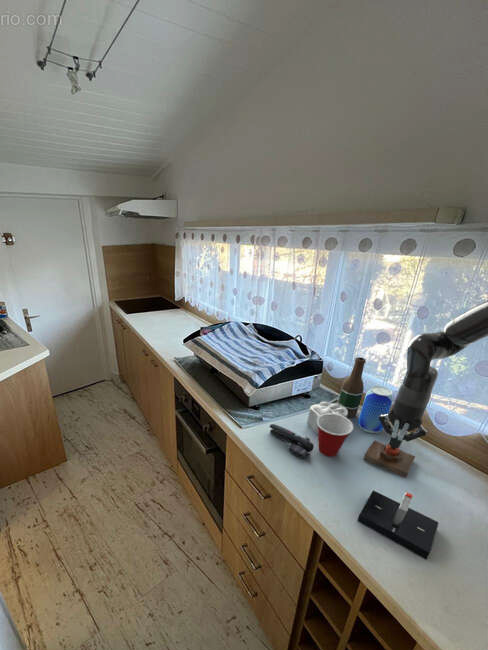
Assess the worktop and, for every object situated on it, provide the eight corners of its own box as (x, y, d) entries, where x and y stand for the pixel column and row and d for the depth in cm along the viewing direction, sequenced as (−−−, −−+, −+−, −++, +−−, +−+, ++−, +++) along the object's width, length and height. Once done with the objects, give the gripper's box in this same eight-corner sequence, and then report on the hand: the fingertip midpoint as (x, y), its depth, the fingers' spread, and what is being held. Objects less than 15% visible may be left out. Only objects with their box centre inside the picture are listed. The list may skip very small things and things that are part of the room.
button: (399, 451, 97) (401, 447, 96) (396, 457, 95) (398, 453, 94) (386, 446, 99) (388, 442, 98) (383, 452, 97) (385, 447, 96)
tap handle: (399, 528, 74) (407, 510, 71) (391, 524, 75) (399, 507, 72) (405, 512, 78) (413, 494, 75) (398, 508, 79) (406, 491, 76)
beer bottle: (331, 412, 123) (345, 358, 112) (340, 405, 128) (354, 352, 116) (351, 421, 118) (367, 364, 107) (359, 413, 123) (376, 358, 111)
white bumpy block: (303, 420, 119) (307, 401, 115) (333, 416, 121) (337, 397, 117) (319, 437, 110) (324, 417, 106) (350, 432, 112) (356, 412, 108)
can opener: (316, 454, 102) (319, 441, 99) (302, 462, 98) (305, 449, 96) (276, 428, 115) (278, 415, 112) (263, 434, 112) (265, 421, 109)
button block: (413, 461, 98) (417, 452, 96) (405, 478, 92) (410, 468, 90) (372, 445, 106) (375, 435, 104) (363, 459, 99) (366, 450, 97)
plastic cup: (304, 451, 103) (310, 422, 98) (319, 437, 110) (326, 409, 104) (335, 467, 96) (344, 437, 91) (350, 452, 103) (359, 422, 97)
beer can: (383, 425, 115) (396, 388, 108) (380, 437, 109) (394, 399, 102) (358, 418, 120) (369, 382, 112) (355, 429, 113) (366, 392, 106)
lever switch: (435, 528, 77) (439, 521, 76) (426, 559, 70) (430, 552, 69) (370, 496, 86) (373, 489, 85) (357, 520, 79) (359, 513, 78)
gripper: (382, 396, 90) (367, 443, 98) (437, 413, 82) (415, 462, 90) (389, 387, 94) (374, 432, 103) (442, 403, 86) (421, 450, 94)
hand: (393, 446), depth 96 cm, fingers closed
